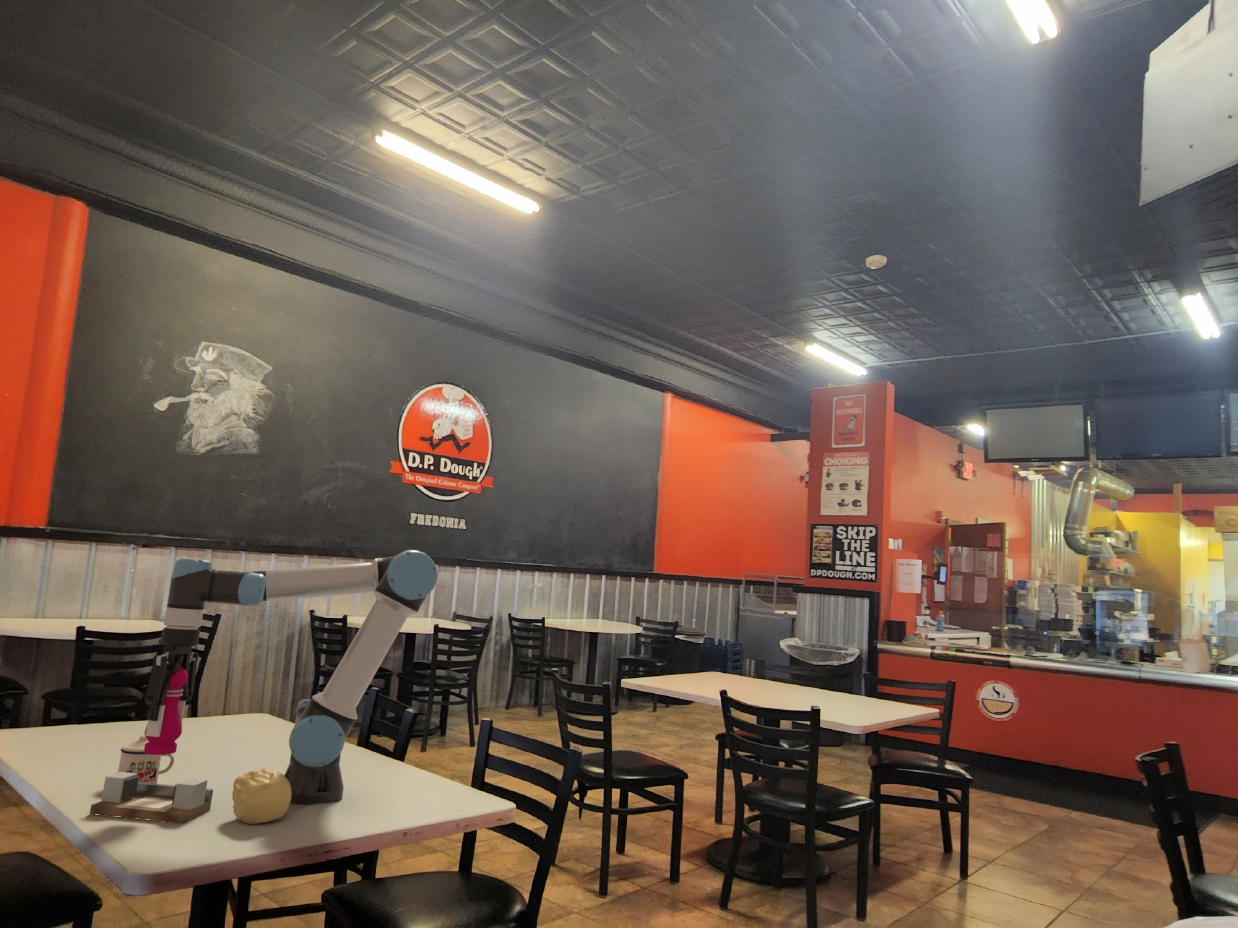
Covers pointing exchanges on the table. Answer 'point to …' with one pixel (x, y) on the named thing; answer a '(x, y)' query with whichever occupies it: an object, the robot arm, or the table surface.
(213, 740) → the table surface
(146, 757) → the teacup with lid
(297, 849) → the table surface
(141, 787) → the steel rail bar
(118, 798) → the finger block
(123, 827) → the table surface
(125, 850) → the table surface
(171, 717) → the pepper mill
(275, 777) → the sculpture
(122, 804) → the wooden frame tray
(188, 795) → the block
